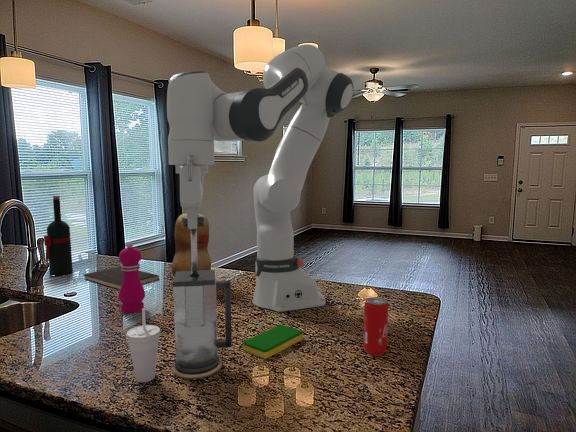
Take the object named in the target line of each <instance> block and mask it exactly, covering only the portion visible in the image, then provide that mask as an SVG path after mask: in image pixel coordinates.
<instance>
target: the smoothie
mask: <svg viewBox="0 0 576 432" xmlns="http://www.w3.org/2000/svg"><path fill="white" fill-rule="evenodd" d="M141 314H142V316H141V317H142V318H141V319H142V325H138V326H134V327H132V328H131V329H129V330H127V332H126V341H128V346H129V351H130V357H131V361H132V366H133V367H132V368H133V371H134V378H135V381H136V382H138V383H147V382H150V381H153V380H154V379H155V377H156V371H157V361H158V351H159V350H158V349H159V340H160V336H161V335H162V334H161V328H160V327H159V326H157V325H153V324H152V325H151V324H146V323H147V322H146V308H145V307H144V308H143V309H142V311H141Z"/></svg>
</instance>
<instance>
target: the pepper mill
mask: <svg viewBox="0 0 576 432" xmlns="http://www.w3.org/2000/svg"><path fill="white" fill-rule="evenodd" d="M118 260H119V263H121V265H120V266H121V267H122V269H121V270H122V271H123V283H122V286H121V288H120V289H118V290H119V291H118V301H119V302H120V303H122V304H121V305H120V312H121V313H123V314H127V315H129V314H137V313H141V312H142V309H143V308H145V304H144V302H143V301H144V299H145V297H146V291H145V288H144V285H143V284H141V282H140V279H139V274H138V270H139V271H140V269H141V266H140V265H141V264H140V263H139V262H140V261H141V260H142V253H141V251H140V249H138V248H136V247H134V243H133V242H131V241H130V242H127V243H126V247H125V248H123V249H122V250H121V251H120V252H119V254H118Z"/></svg>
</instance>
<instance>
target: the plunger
mask: <svg viewBox="0 0 576 432" xmlns="http://www.w3.org/2000/svg"><path fill="white" fill-rule="evenodd" d="M204 225H205V219H204V217H203V216H197V227H198V226H204ZM182 226H185V227H188V220H187V216H186V217H182ZM191 264H192V277H198V263H197V228H196V229H191Z"/></svg>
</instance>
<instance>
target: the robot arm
mask: <svg viewBox="0 0 576 432" xmlns="http://www.w3.org/2000/svg"><path fill="white" fill-rule="evenodd" d="M262 82H263V83H262V84H263V86H264V87H263V88H262V87H256V88H255V87H254V88H251V89H246V90H242V91H236V92H229V93H227V92H225V91H224V90H222V89H220V88H219V87H218V86H217V85H216V84H215V83H214V82H213V81H212V80H211V78H210V74H209V72H205V71H203V70H195V71H194V70H190V71H183V72H179V73H176V74H174V75H172V76H171V78H170V79H169V82H168V85H167V93H166V117H167V122H168V124H169V125H168V126H169V133H168V136H167V147H168V148H167V153H168V165H169V166H172V165H173V166H175V174H179V202H180V203H179V204H180V207H181V208H185V213H187V220H188V228H189V229H196V228H197V216H199V215H198V214H200V213H199V211H200V207H201V206H202V201H203V197H204V191H205V190H204V189H205V179H206V174H209V166H214V165H215V142H216V141H217V142H236V141H237V142H240V141H247V142H265V141H266V140H269V138H271V137H272V136H273V134H274V133H275V131H276V130H277V128H278V126H279V124H280V122H281V121H282V119H283V118H284V116H285V115H287V114H288V112H290V111H291V109H292V108H294V107H295V105H297V104H298V103H302V104H301V105H300V107H298V109H297V111H296V112H295V114H294V115H293V117H292V118H291V120H290V122H289V123H288V126H287V127H286V130H285V132H284V134H283V135H282V138H281V139H280V141H279V143H278V145H277V148H276V149H275V155H274V158H273V160H272V163H271V166H270V169H269V172H268V173H267V174H265V175H263V176H261V177H259V178H258V179H257V181H256V182H255V183H254V186H253V191H252V193H253V204H254V215H255V216H254V217H255V224H256V244H257V245H256V250H257V251H256V253H257V255H256V257H255V275H256V278H255V279H256V281H255V287H254V293H253V298H252V300H251V301H252V303H253V305H255V306H256V307H259V308H263V309H269V310H272V311H274V312H281V313H282V312H288V311H297V310H302V309H303V310H304V309H309V308H316V307H317V308H318V307H323V306H325V305H326V302H327V301H326V297H325V296H324V294H322V293H321V292H320V291H319V288H318V284H317V281H316V280H315V279H314V278H313V277H312V276H311V275H310V274H308V273H307V272H306V271H304V270H303V269H302V267H303V266H305V265H304V264H305V261H303V259H301V258H299V257H297V256H296V255H294V244H295V243H294V242H295V241H294V240H295V239H294V238H295V237H294V227H293V225H292V218H291V213H290V212H291V211H293V210H295V208H297V207H298V205H299V203H300V201H301V196H302V195H301V193H302V190H303V188H304V185H305V182H306V181H305V180H306V177H307V174H308V171H309V168H310V166H311V164H312V162H313V160H314V157H315V156H316V154H317V152H318V150H319V148H320V146H321V144H322V142H323V140H324V137H325V134H326V133H327V129H328V127H329V123H330V119H331V118H332V117H334V116H336V115H338V114H340V113H341V112H344V110H345V109H346V108H347V107H348V105H349V104H350V102H351V101H352V98H353V94H354V88H355V87H354V83H353V79H351V77H350V76H348V75H346V74H344V72H343V73H342V72H338V71H336V70H334V69H332V68H329V67H326V60H325V56H324V54H323V52H322V51H321V50H320V49H319V48H318V47H317V46H315V45H313V44H301V45H297V46H294V47H291V48H289V49H287V50H285V51H282V52H281V53H279V54H277V55H276V56H274V57H273V58H272V59H271V60H269V62H267V64H266V65H265V66H264V68H263V71H262Z"/></svg>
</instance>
